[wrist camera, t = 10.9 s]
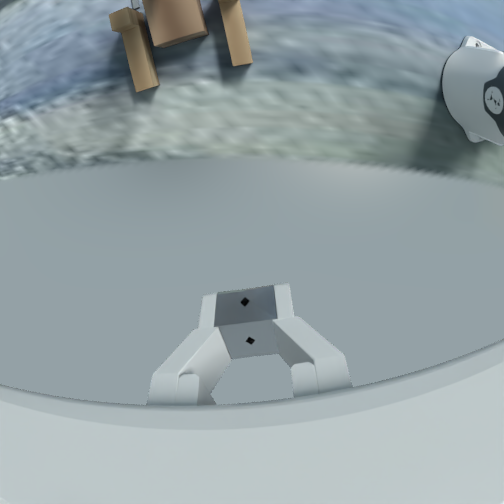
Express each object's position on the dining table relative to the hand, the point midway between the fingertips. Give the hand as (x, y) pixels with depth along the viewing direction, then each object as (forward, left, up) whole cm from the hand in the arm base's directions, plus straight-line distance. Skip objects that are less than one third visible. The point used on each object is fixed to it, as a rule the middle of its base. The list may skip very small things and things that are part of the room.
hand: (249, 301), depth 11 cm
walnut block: (+5, -16, -33) cm, 37 cm away
